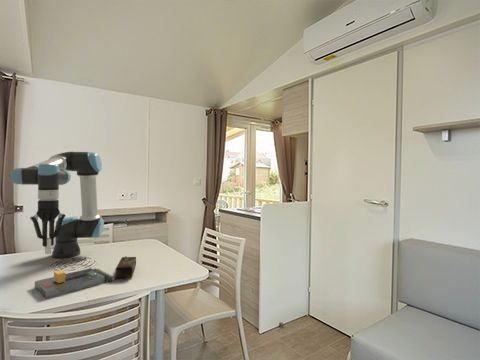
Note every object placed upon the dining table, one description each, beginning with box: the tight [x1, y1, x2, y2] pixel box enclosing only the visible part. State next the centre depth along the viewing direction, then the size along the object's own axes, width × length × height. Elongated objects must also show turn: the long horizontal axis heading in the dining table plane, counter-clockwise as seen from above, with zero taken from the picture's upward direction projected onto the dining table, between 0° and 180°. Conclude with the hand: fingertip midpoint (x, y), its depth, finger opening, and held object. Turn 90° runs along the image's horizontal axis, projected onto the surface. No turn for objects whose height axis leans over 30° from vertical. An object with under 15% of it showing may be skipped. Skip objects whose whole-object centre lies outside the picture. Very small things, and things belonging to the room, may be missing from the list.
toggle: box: [53, 269, 66, 283], centre depth 127 cm, size 5×3×4 cm, turn 50°
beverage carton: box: [114, 255, 137, 281], centre depth 148 cm, size 8×19×7 cm, turn 14°
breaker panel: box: [34, 268, 106, 300], centre depth 130 cm, size 16×24×3 cm, turn 140°
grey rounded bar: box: [92, 268, 116, 282], centre depth 141 cm, size 17×4×2 cm, turn 50°
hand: (48, 253), depth 123 cm, fingers closed
